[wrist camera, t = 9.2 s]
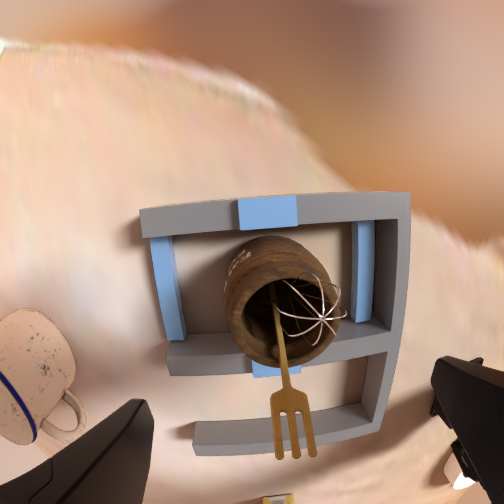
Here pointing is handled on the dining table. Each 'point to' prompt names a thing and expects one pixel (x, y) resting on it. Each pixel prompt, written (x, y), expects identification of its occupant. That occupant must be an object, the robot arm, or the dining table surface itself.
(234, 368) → the divider rack
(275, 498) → the candy box
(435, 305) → the dining table surface
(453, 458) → the ring with crossbar
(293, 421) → the utensil holder
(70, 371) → the teacup with lid
